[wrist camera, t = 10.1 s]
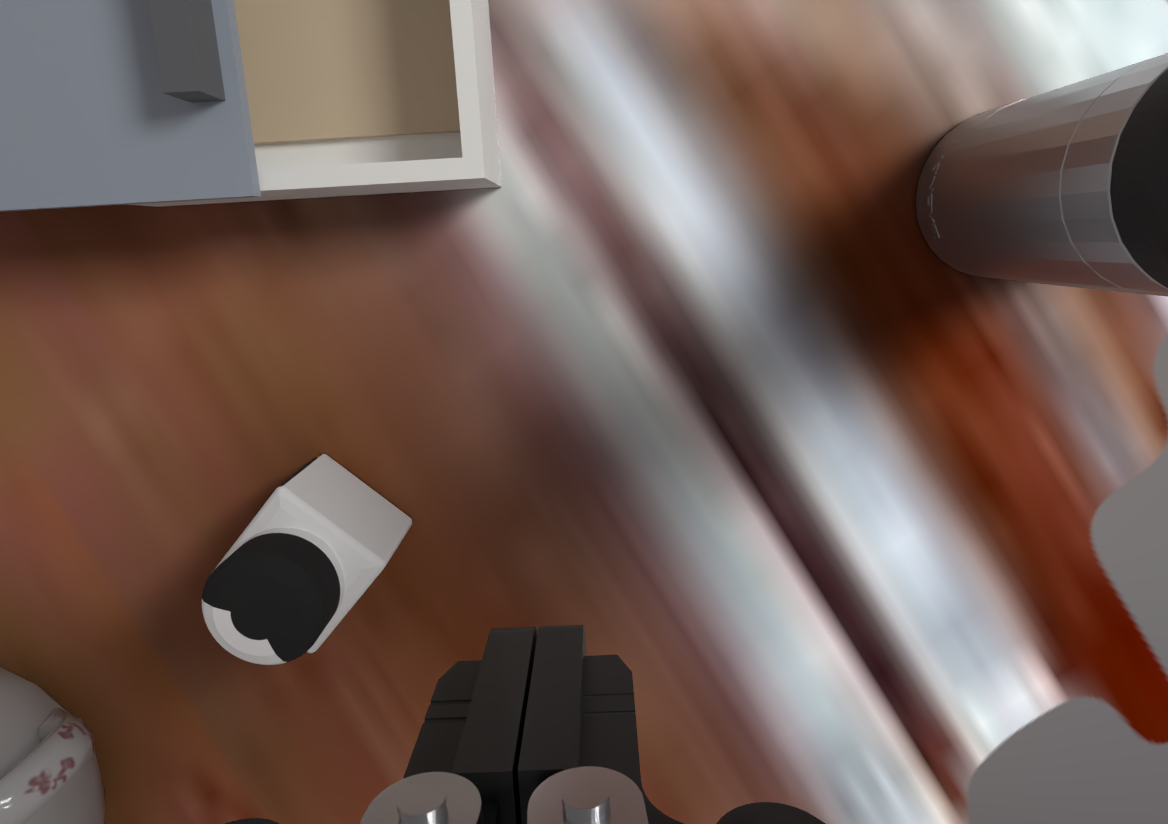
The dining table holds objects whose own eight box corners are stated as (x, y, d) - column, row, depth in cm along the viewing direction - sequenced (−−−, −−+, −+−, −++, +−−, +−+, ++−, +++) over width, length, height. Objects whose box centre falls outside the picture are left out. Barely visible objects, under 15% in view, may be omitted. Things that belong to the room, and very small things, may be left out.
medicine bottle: (323, 449, 48) (235, 517, 37) (416, 519, 49) (359, 607, 37) (258, 533, 50) (154, 625, 38) (350, 600, 50) (275, 709, 39)
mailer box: (475, -172, 41) (451, -254, 34) (501, 186, 45) (484, 177, 38) (98, -145, 41) (-1, -221, 34) (157, 206, 45) (79, 201, 38)
